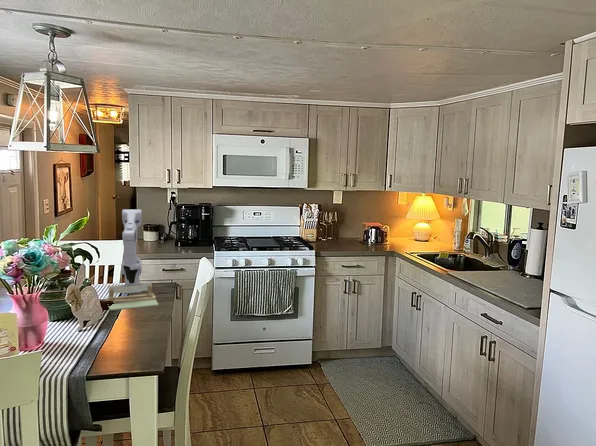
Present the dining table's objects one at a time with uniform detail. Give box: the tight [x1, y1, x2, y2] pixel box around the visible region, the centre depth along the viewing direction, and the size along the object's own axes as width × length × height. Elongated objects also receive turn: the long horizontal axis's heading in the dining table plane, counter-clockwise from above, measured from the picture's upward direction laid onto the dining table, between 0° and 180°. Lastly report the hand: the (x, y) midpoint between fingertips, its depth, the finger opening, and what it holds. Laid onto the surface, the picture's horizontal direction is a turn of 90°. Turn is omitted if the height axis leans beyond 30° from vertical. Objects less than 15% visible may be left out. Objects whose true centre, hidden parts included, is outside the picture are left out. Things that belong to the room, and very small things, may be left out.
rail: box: [108, 282, 153, 295], centre depth 237 cm, size 20×3×3 cm, turn 117°
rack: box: [104, 285, 157, 304], centre depth 237 cm, size 7×23×6 cm, turn 117°
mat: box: [108, 299, 159, 312], centre depth 229 cm, size 8×22×1 cm, turn 117°
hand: (130, 281), depth 237 cm, fingers open, 7 cm apart
